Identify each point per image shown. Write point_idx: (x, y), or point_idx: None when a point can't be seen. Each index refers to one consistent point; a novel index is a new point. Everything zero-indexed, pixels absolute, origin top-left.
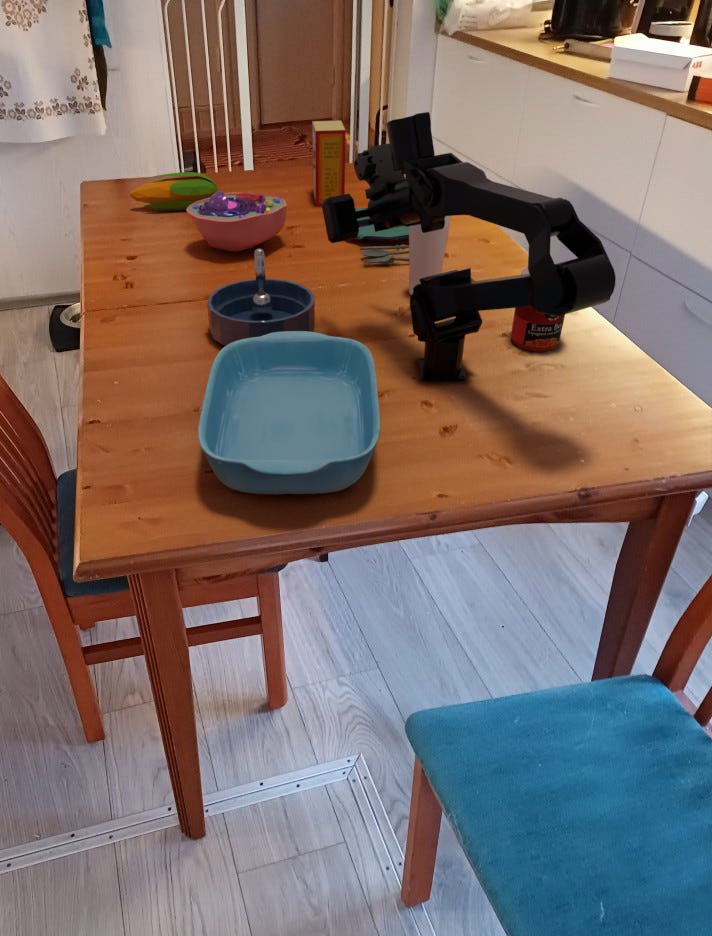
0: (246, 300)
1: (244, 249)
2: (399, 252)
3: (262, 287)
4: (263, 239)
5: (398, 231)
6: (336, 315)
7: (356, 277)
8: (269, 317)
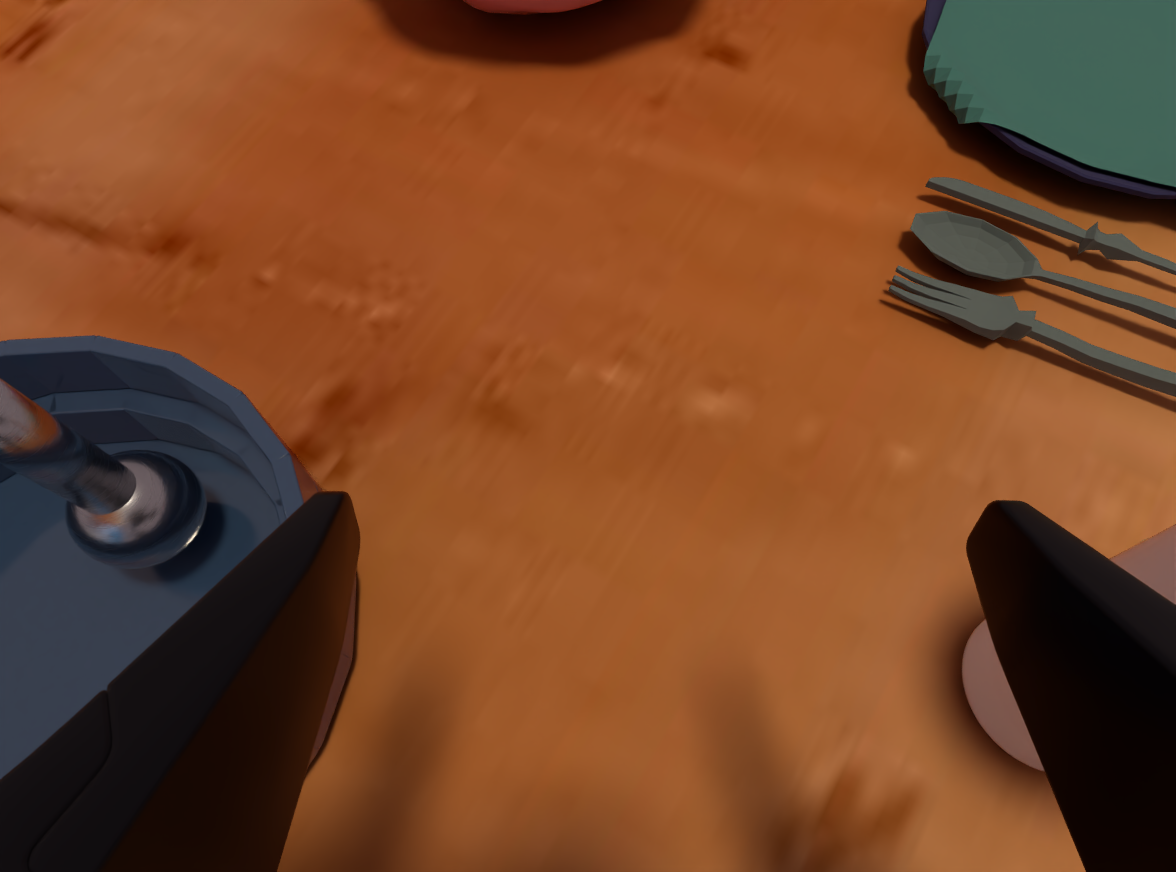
0: (139, 418)
1: (505, 13)
2: (1078, 287)
3: (67, 497)
4: (570, 2)
5: (1146, 131)
6: (507, 676)
7: (804, 367)
8: (197, 552)
